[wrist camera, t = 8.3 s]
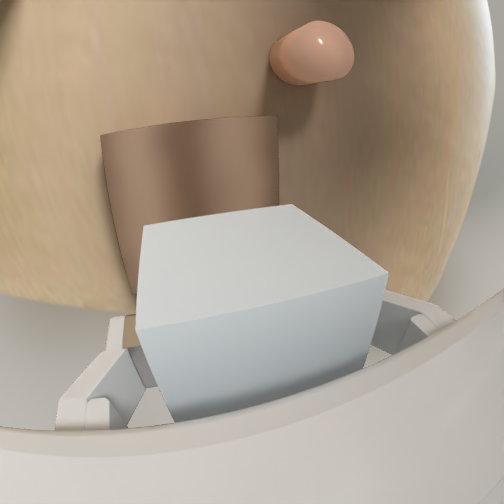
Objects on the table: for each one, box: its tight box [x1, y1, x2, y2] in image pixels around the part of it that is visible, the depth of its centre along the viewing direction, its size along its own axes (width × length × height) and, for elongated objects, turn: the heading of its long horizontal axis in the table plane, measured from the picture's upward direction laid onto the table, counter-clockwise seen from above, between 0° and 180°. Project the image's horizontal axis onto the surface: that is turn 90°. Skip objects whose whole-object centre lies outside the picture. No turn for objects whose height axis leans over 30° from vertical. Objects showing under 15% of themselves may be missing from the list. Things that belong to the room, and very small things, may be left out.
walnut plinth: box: [100, 116, 279, 294], centre depth 21 cm, size 12×12×3 cm
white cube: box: [135, 204, 389, 423], centre depth 9 cm, size 6×6×6 cm
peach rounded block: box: [269, 21, 354, 85], centre depth 17 cm, size 5×5×5 cm
